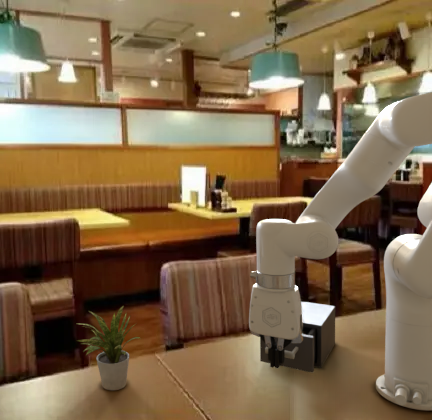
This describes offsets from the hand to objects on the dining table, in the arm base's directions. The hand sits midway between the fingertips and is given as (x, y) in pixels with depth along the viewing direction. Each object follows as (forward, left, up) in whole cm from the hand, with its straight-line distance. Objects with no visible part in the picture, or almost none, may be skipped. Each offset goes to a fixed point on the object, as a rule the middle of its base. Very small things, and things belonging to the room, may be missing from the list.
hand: (276, 365), depth 93 cm
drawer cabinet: (+19, 0, -4) cm, 19 cm away
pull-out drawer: (+11, 0, -3) cm, 11 cm away
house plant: (-16, +31, -4) cm, 35 cm away
